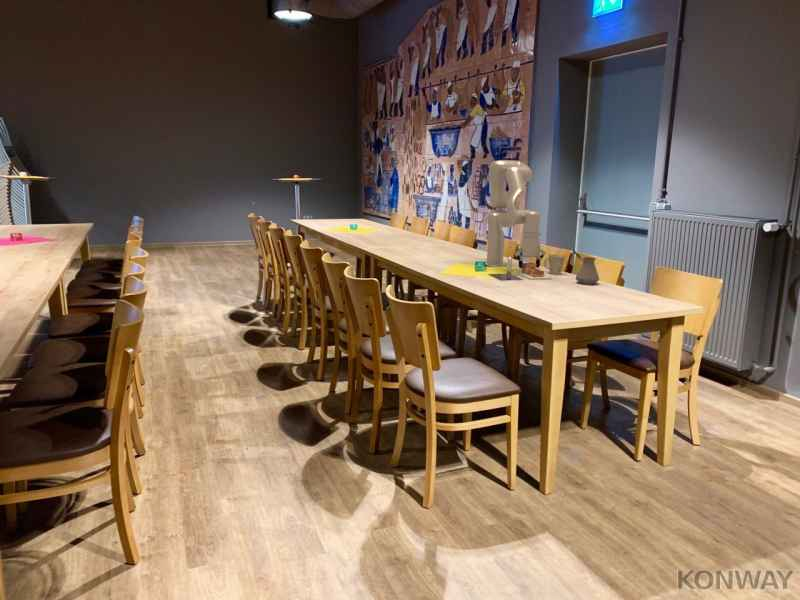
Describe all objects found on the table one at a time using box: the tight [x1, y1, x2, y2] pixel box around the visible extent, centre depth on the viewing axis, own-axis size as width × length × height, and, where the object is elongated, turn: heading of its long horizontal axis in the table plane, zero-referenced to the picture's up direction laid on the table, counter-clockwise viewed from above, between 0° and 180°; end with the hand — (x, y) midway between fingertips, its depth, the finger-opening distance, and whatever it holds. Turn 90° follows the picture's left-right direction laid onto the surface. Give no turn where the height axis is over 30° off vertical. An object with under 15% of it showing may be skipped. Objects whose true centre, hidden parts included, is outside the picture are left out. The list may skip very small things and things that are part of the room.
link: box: [521, 262, 545, 277], centre depth 324 cm, size 14×6×5 cm, turn 14°
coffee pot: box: [571, 249, 600, 286], centre depth 318 cm, size 21×12×15 cm, turn 17°
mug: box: [543, 254, 565, 276], centre depth 340 cm, size 8×13×10 cm, turn 39°
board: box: [513, 270, 553, 281], centre depth 325 cm, size 20×12×2 cm, turn 15°
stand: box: [487, 256, 525, 282], centre depth 321 cm, size 18×13×12 cm
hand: (529, 267), depth 328 cm, fingers open, 9 cm apart
